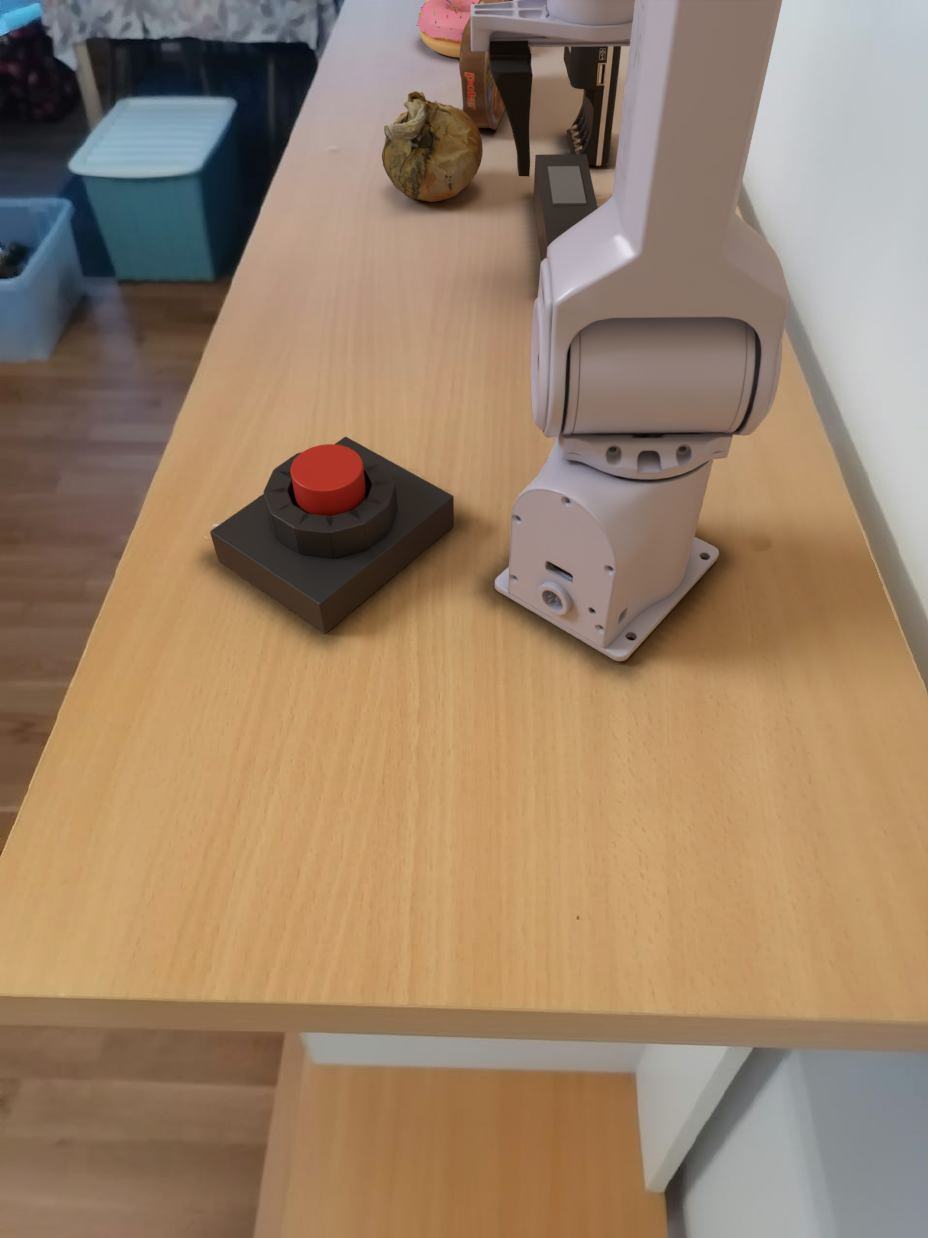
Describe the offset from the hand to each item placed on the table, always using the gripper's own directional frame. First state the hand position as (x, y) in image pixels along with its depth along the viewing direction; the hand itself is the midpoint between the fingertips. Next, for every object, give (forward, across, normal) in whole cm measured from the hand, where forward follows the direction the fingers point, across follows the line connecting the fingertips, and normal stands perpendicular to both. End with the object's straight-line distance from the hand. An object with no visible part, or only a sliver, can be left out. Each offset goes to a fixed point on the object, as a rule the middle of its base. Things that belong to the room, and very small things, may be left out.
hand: (582, 168), depth 62 cm
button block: (+8, +15, +26) cm, 31 cm away
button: (+5, +15, +26) cm, 30 cm away
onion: (+8, +10, -14) cm, 20 cm away
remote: (+8, 0, -6) cm, 10 cm away
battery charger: (+8, -3, -22) cm, 24 cm away
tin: (+8, +5, -31) cm, 33 cm away
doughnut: (+8, +7, -48) cm, 49 cm away
